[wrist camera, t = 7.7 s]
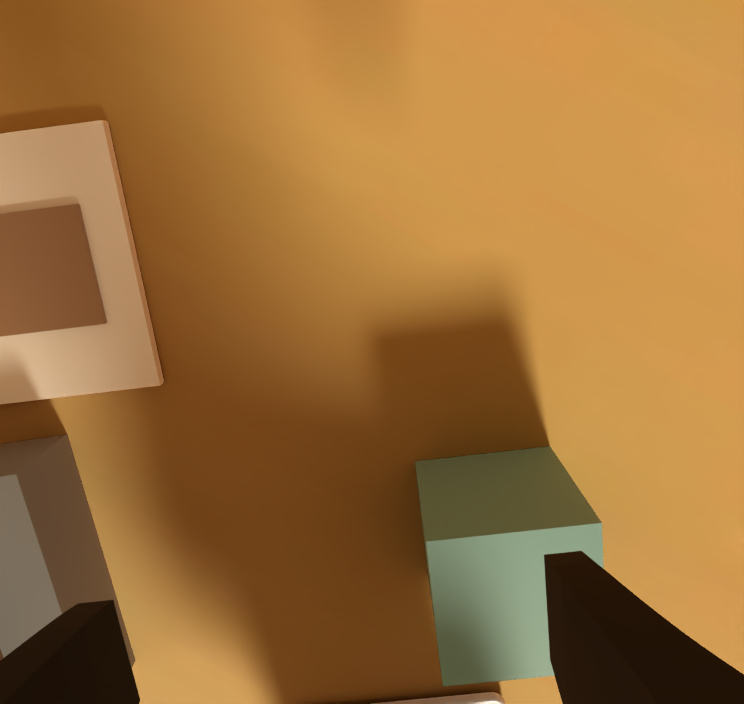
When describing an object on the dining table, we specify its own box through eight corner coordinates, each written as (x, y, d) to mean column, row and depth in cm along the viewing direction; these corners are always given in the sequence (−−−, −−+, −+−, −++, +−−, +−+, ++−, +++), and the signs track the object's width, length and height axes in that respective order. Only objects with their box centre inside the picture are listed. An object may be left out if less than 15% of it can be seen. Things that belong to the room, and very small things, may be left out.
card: (164, 382, 20) (157, 387, 20) (-17, 403, 20) (-28, 409, 20) (107, 121, 18) (99, 119, 18) (-91, 147, 18) (-106, 146, 18)
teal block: (556, 564, 22) (607, 670, 17) (428, 577, 22) (442, 686, 17) (549, 445, 21) (602, 522, 16) (414, 460, 21) (425, 541, 16)
